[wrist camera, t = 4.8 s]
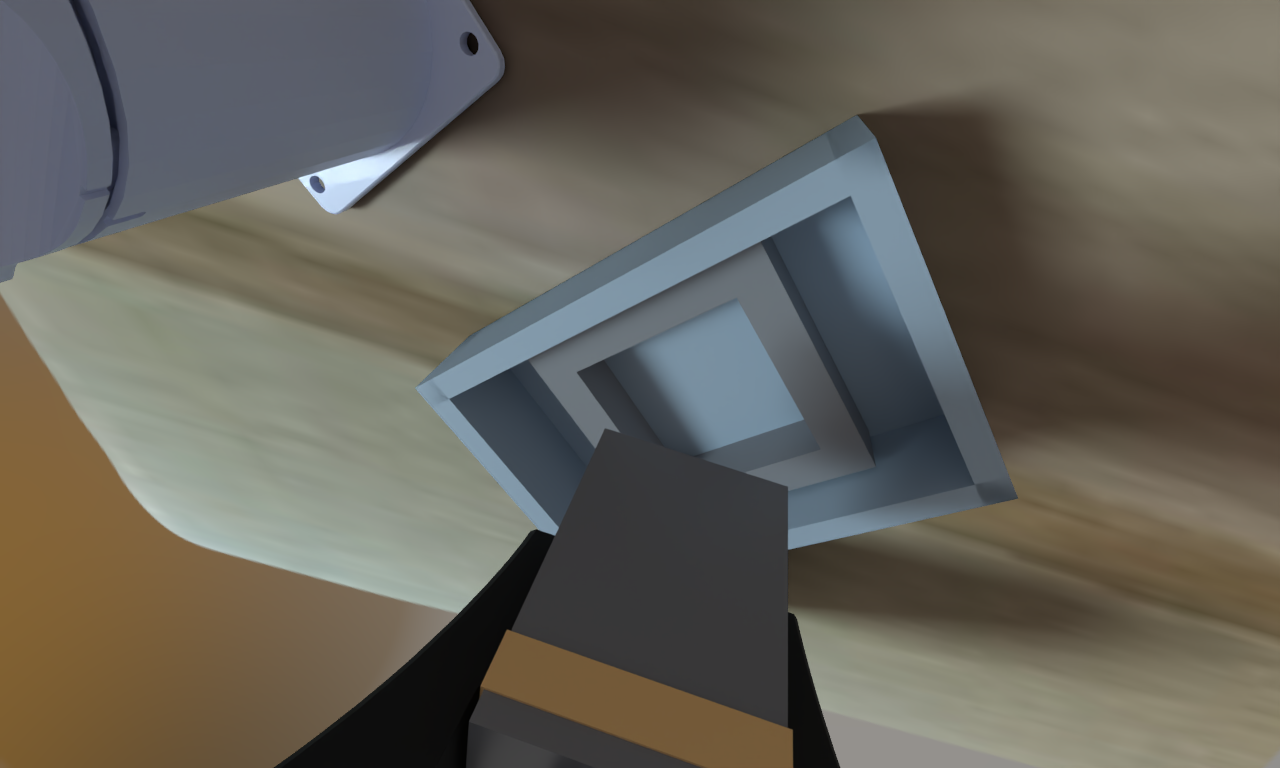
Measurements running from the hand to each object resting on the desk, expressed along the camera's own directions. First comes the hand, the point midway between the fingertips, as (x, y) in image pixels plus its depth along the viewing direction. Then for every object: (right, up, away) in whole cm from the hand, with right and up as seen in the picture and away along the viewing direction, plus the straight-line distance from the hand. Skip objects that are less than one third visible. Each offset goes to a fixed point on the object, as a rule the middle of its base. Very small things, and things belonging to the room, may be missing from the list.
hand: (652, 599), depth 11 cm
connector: (+1, +1, +1) cm, 2 cm away
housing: (+2, +5, +7) cm, 9 cm away
